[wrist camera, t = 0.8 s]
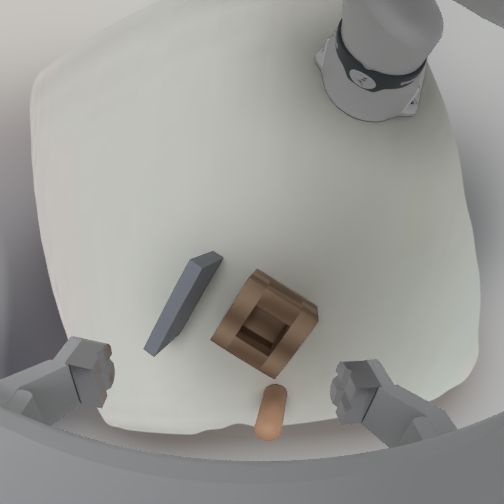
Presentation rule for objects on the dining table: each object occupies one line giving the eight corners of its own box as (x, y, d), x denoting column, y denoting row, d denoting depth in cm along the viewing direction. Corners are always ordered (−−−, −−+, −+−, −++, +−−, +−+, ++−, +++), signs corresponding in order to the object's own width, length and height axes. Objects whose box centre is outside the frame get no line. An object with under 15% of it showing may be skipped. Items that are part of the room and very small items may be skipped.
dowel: (272, 380, 49) (263, 417, 39) (291, 391, 49) (286, 429, 38) (260, 395, 50) (249, 433, 39) (278, 405, 50) (271, 444, 39)
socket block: (257, 268, 47) (248, 277, 40) (316, 306, 46) (318, 321, 39) (222, 324, 49) (210, 339, 42) (278, 358, 48) (274, 379, 41)
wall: (212, 251, 48) (189, 259, 39) (223, 257, 48) (202, 268, 39) (170, 327, 51) (143, 349, 42) (179, 333, 51) (154, 356, 41)
